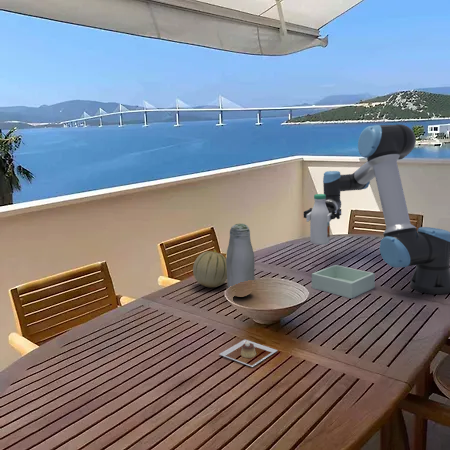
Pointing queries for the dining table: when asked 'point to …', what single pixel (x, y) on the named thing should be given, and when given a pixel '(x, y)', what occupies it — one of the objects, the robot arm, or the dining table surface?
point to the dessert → (248, 350)
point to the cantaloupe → (210, 269)
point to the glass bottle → (239, 255)
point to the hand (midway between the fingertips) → (317, 218)
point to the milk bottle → (319, 221)
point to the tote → (343, 281)
